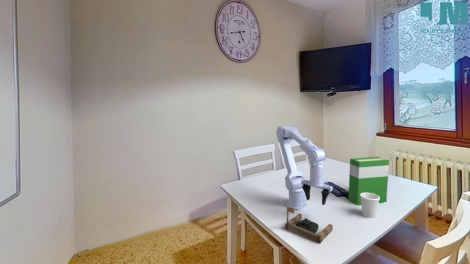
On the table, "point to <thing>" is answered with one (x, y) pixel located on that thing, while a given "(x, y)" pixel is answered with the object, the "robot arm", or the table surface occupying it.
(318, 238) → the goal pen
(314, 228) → the gaming controller
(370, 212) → the dixie cup
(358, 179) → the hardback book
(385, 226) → the table surface
